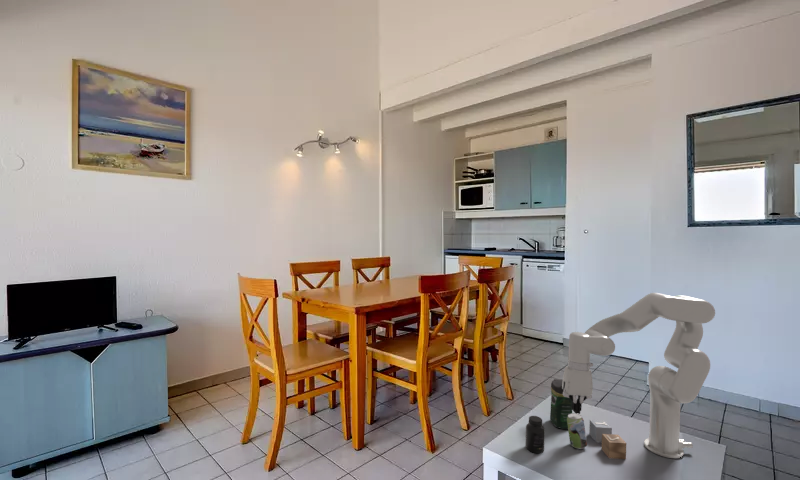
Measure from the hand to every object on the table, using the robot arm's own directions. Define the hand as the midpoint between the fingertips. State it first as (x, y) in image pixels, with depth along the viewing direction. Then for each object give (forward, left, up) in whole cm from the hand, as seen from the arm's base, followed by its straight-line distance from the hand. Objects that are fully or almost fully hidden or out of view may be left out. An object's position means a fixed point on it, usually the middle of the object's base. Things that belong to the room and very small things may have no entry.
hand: (576, 412), depth 149 cm
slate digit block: (-12, -7, -14) cm, 20 cm away
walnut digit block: (-12, +4, -14) cm, 19 cm away
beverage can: (0, 0, -14) cm, 14 cm away
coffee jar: (0, -17, -14) cm, 22 cm away
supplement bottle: (+17, +4, -14) cm, 22 cm away
